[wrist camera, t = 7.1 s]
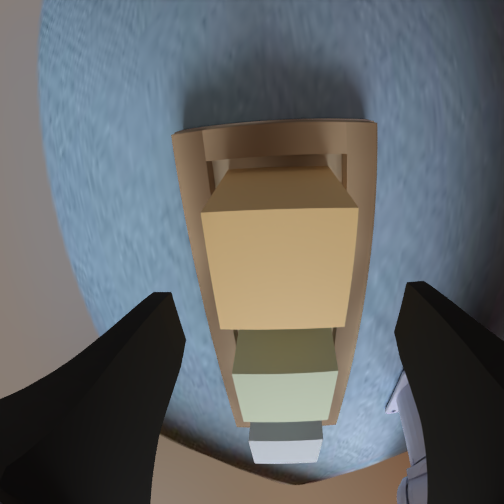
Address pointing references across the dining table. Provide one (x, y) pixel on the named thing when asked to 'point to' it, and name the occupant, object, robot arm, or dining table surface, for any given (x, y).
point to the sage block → (285, 374)
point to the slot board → (280, 155)
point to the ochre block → (280, 248)
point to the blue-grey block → (285, 441)
